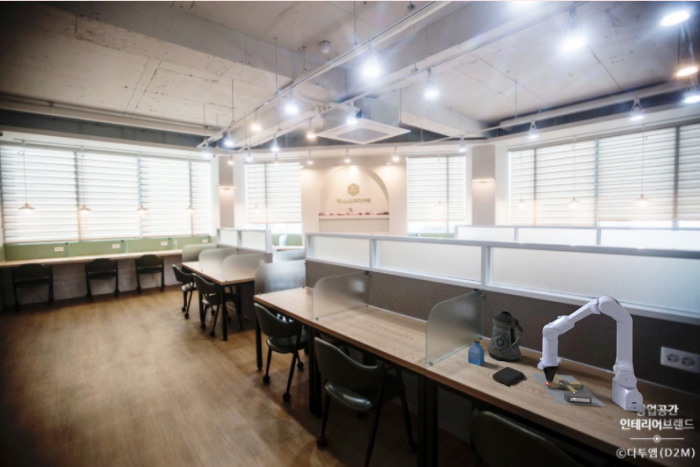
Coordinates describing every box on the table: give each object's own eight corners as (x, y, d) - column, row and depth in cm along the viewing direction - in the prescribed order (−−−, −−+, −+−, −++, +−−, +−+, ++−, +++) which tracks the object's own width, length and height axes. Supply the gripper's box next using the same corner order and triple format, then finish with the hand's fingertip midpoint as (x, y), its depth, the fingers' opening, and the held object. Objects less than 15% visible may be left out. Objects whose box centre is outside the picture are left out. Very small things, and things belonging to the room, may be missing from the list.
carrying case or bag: (513, 389, 135) (528, 379, 143) (513, 383, 134) (528, 373, 143) (490, 379, 143) (506, 370, 152) (490, 373, 143) (506, 364, 152)
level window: (593, 405, 121) (593, 398, 121) (568, 403, 122) (568, 397, 122) (588, 400, 124) (588, 394, 124) (564, 398, 126) (564, 392, 125)
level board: (605, 408, 120) (605, 406, 120) (556, 404, 123) (556, 402, 123) (571, 377, 144) (571, 375, 144) (530, 374, 147) (530, 373, 147)
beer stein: (494, 347, 178) (494, 306, 177) (531, 358, 164) (531, 313, 163) (483, 356, 167) (483, 312, 165) (521, 368, 153) (522, 320, 152)
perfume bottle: (484, 361, 161) (484, 339, 160) (480, 366, 156) (480, 343, 156) (472, 358, 165) (472, 336, 164) (468, 362, 160) (468, 340, 160)
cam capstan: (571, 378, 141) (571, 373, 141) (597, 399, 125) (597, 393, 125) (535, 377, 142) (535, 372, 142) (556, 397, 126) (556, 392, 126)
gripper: (550, 345, 144) (549, 373, 145) (531, 351, 138) (530, 380, 138) (566, 351, 138) (565, 380, 138) (547, 357, 131) (546, 388, 132)
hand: (549, 380), depth 138 cm, fingers closed
